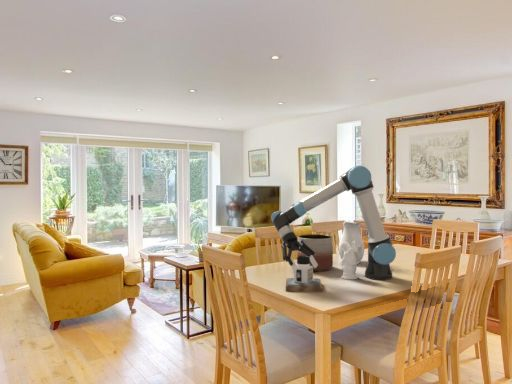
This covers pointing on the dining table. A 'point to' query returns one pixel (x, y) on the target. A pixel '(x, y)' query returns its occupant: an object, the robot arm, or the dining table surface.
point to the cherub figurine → (349, 259)
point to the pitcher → (352, 237)
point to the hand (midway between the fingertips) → (306, 268)
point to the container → (303, 270)
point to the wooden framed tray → (304, 285)
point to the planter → (319, 250)
